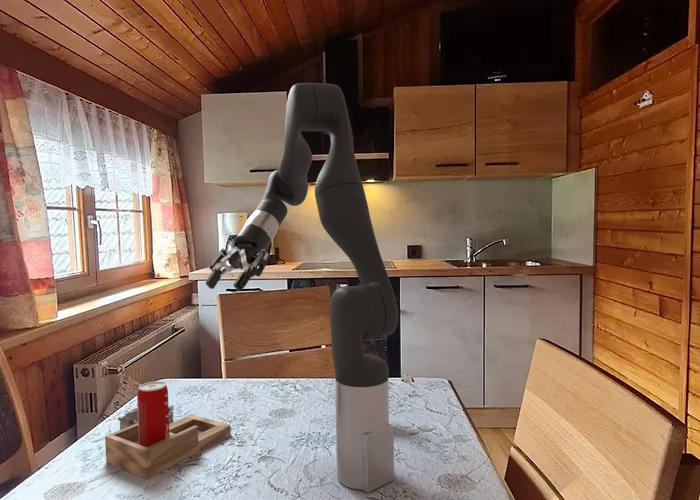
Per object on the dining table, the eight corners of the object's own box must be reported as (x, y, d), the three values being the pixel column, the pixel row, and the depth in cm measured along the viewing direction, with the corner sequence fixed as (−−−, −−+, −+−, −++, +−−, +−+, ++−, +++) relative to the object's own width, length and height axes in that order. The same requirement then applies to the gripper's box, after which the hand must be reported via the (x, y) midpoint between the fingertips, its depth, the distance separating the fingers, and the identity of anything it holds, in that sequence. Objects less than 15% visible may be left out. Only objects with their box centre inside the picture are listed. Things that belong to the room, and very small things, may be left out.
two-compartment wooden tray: (230, 434, 98) (230, 411, 98) (146, 479, 81) (145, 451, 81) (192, 423, 104) (191, 401, 104) (106, 462, 87) (105, 436, 87)
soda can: (172, 447, 88) (170, 385, 88) (140, 455, 86) (138, 391, 85) (167, 436, 93) (165, 377, 93) (138, 443, 91) (135, 382, 90)
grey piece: (115, 437, 99) (114, 418, 98) (128, 422, 106) (127, 405, 106) (168, 433, 100) (167, 415, 100) (177, 419, 107) (176, 402, 107)
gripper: (227, 223, 112) (190, 275, 103) (272, 222, 104) (237, 278, 95) (243, 244, 117) (209, 296, 107) (288, 244, 109) (256, 300, 100)
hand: (222, 287), depth 101 cm, fingers open, 8 cm apart
